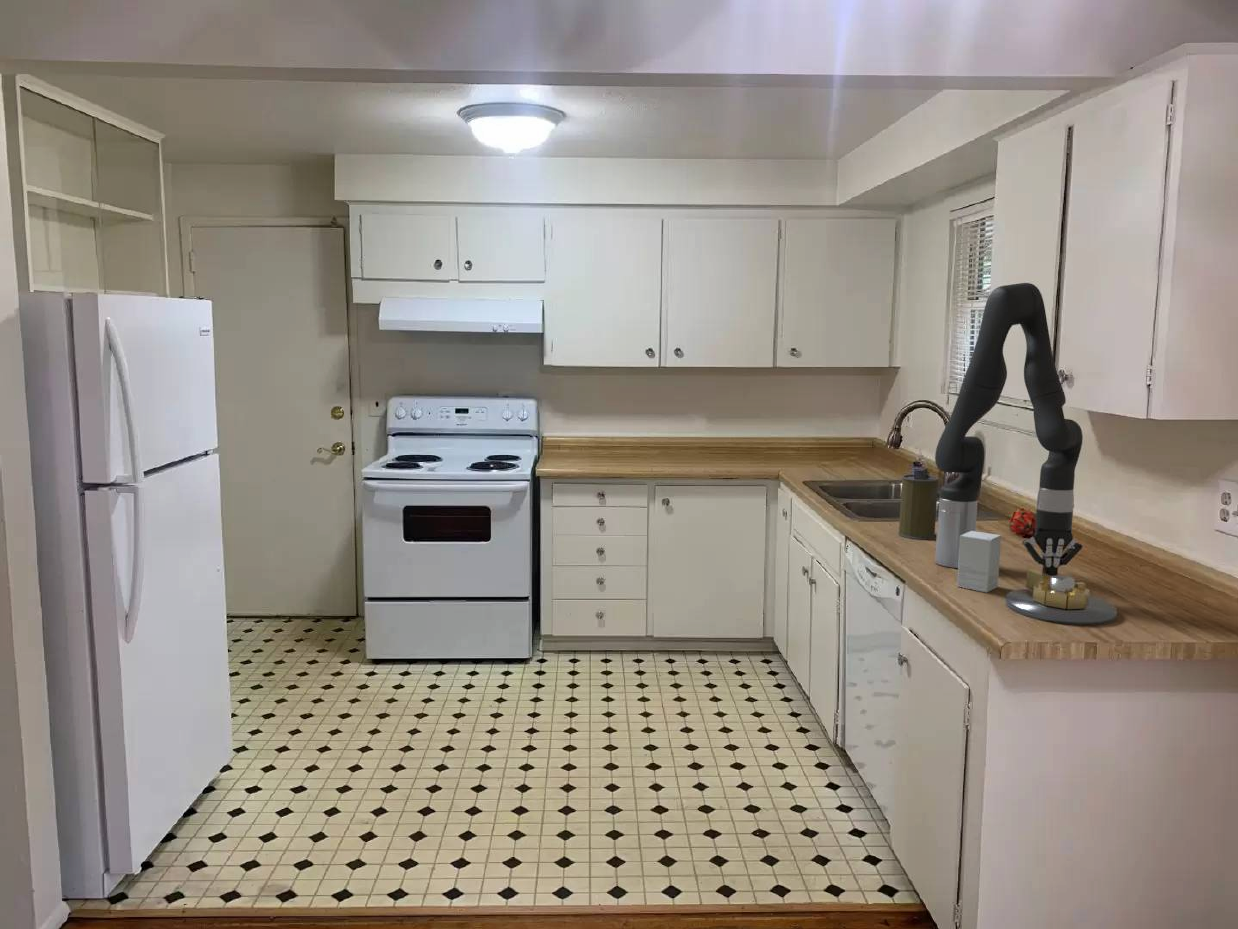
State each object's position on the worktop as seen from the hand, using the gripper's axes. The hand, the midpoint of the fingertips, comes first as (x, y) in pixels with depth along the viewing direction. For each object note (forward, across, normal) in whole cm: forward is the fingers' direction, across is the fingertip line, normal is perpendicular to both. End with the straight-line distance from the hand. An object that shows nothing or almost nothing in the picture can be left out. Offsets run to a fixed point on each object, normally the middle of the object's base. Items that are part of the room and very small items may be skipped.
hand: (1049, 582), depth 214 cm
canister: (+3, +17, -60) cm, 63 cm away
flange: (+4, +1, +10) cm, 10 cm away
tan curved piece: (+2, +1, +7) cm, 7 cm away
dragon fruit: (+4, -15, -67) cm, 68 cm away
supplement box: (+4, +14, -6) cm, 16 cm away
